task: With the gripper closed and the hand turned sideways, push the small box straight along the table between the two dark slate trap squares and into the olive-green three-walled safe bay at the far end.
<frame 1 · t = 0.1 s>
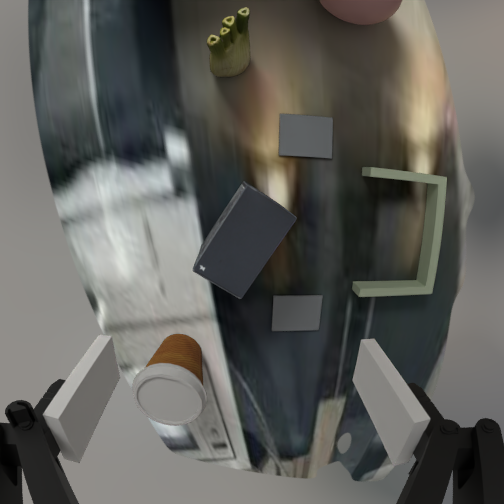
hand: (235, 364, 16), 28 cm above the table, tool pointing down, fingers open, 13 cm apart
fennel bulb: (230, 63, 37), on the table
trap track: (345, 229, 43), on the table
small box: (242, 226, 42), on the table
disposable coffee cup: (181, 350, 47), on the table
mortar and pestle: (344, 4, 35), on the table
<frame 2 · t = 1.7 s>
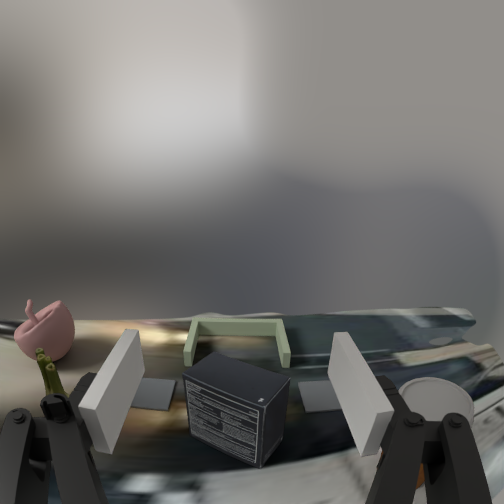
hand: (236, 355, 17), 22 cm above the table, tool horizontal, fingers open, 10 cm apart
fennel bulb: (72, 429, 33), on the table
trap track: (236, 375, 49), on the table
small box: (236, 439, 36), on the table
disposable coffee cup: (400, 475, 28), on the table
mortar and pestle: (51, 357, 48), on the table
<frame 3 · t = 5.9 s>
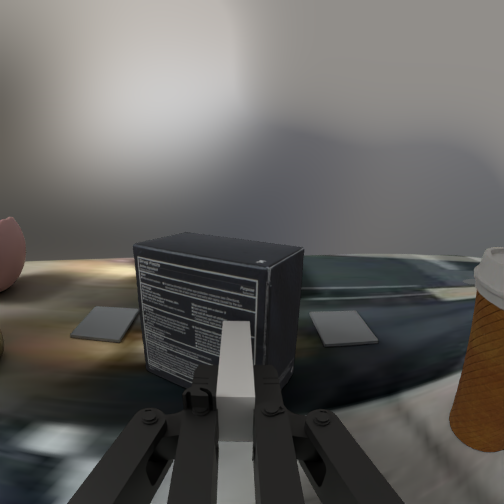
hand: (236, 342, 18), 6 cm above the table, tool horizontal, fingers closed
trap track: (224, 305, 37), on the table
small box: (219, 375, 24), on the table
disposable coffee cup: (483, 425, 16), on the table
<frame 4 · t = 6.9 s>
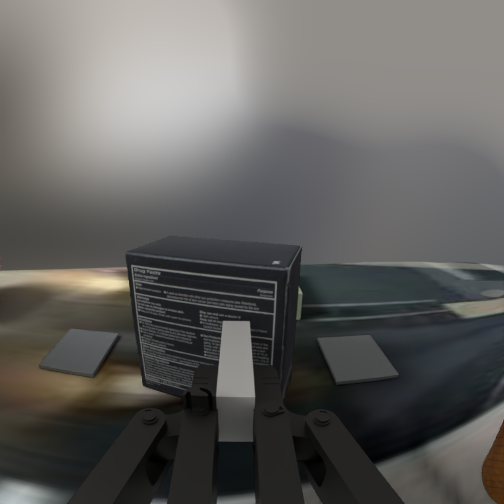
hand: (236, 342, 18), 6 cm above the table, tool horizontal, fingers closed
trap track: (217, 328, 31), on the table
small box: (219, 381, 23), on the table, touching gripper
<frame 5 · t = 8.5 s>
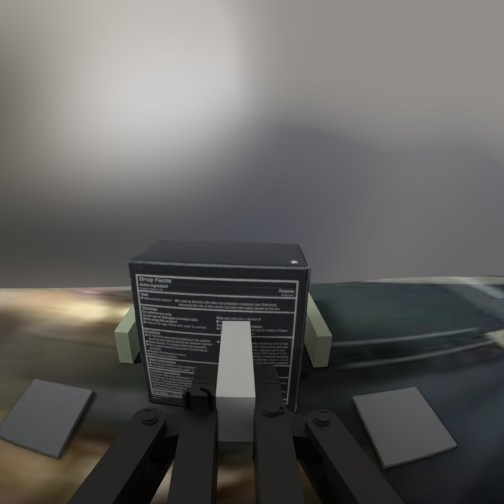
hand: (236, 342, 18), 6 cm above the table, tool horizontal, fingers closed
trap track: (221, 383, 23), on the table
small box: (224, 386, 23), on the table
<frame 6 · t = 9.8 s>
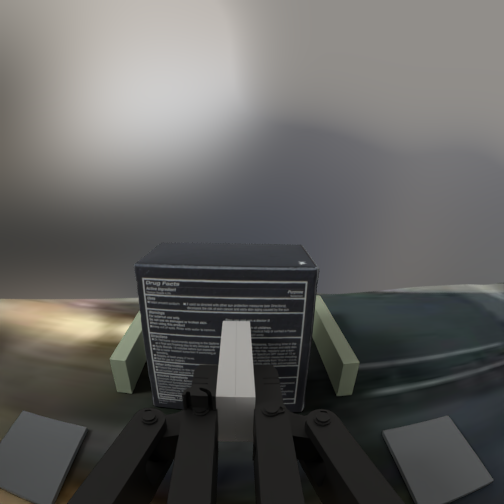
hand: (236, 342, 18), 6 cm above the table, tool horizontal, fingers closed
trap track: (233, 419, 19), on the table
small box: (229, 388, 23), on the table, touching gripper
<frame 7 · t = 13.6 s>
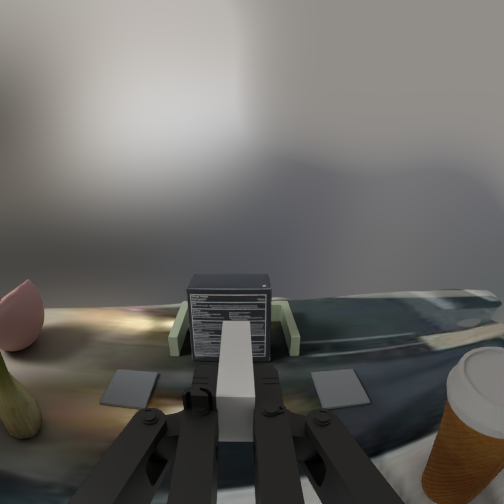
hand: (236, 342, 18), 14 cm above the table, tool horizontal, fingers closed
fennel bulb: (28, 429, 23), on the table
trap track: (234, 365, 40), on the table
small box: (231, 351, 44), on the table
disposable coffee cup: (451, 482, 18), on the table
mortar and pestle: (19, 347, 38), on the table
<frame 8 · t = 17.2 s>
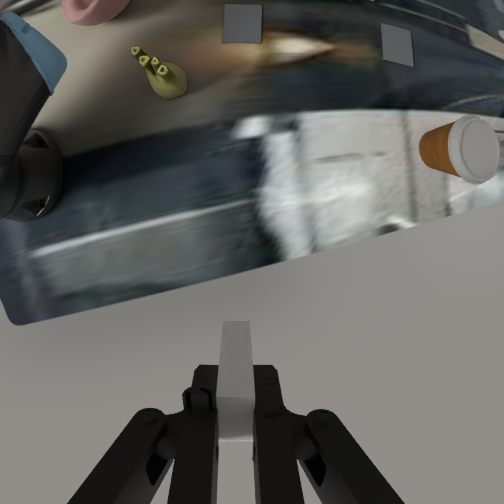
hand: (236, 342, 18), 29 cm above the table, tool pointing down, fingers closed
fennel bulb: (172, 84, 41), on the table
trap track: (323, 0, 37), on the table
disposable coffee cup: (433, 149, 44), on the table
mortar and pestle: (109, 5, 36), on the table
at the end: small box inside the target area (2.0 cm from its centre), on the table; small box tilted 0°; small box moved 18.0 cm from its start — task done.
